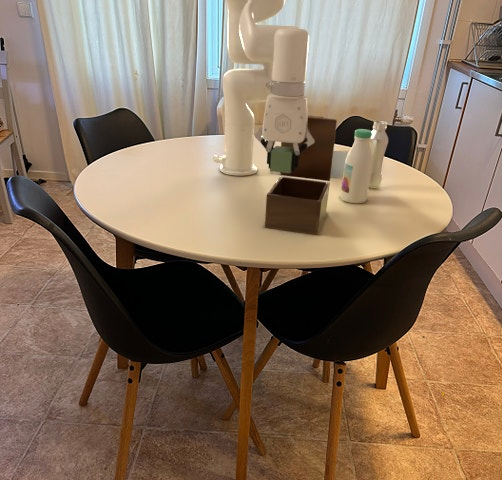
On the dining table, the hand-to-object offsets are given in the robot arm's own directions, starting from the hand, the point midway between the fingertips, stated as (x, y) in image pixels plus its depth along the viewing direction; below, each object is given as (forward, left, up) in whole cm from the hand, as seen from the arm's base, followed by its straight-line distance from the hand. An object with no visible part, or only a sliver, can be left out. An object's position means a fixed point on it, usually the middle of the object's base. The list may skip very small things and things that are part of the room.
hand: (282, 167), depth 118 cm
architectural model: (-1, +60, -15) cm, 62 cm away
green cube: (0, 0, 0) cm, 0 cm away
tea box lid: (+4, +9, +3) cm, 10 cm away
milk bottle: (+17, +25, -15) cm, 34 cm away
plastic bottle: (+21, +39, -15) cm, 47 cm away
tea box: (+4, +3, -14) cm, 15 cm away
